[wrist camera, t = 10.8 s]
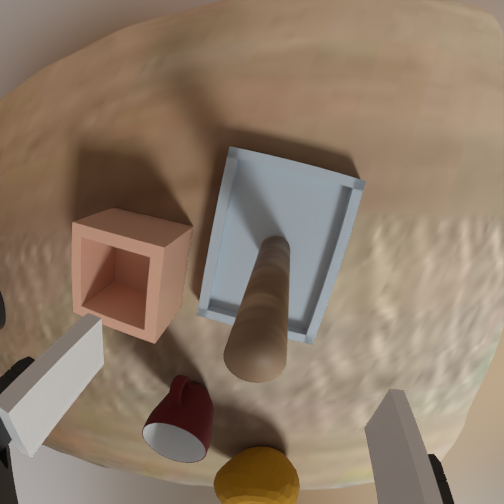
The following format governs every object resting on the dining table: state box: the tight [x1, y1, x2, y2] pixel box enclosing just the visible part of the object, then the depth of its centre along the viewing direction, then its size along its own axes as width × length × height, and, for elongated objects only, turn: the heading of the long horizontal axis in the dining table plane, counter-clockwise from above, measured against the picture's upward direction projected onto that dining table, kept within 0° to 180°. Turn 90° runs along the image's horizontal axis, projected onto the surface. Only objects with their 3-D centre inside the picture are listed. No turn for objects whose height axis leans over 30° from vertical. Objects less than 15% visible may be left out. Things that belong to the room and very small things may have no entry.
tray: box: [197, 146, 365, 344], centre depth 31 cm, size 18×13×2 cm
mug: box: [142, 375, 213, 463], centre depth 35 cm, size 11×8×10 cm
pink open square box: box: [72, 207, 193, 344], centre depth 31 cm, size 10×10×8 cm
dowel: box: [224, 236, 290, 383], centre depth 23 cm, size 3×3×18 cm
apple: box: [214, 446, 300, 504], centre depth 37 cm, size 13×13×11 cm
